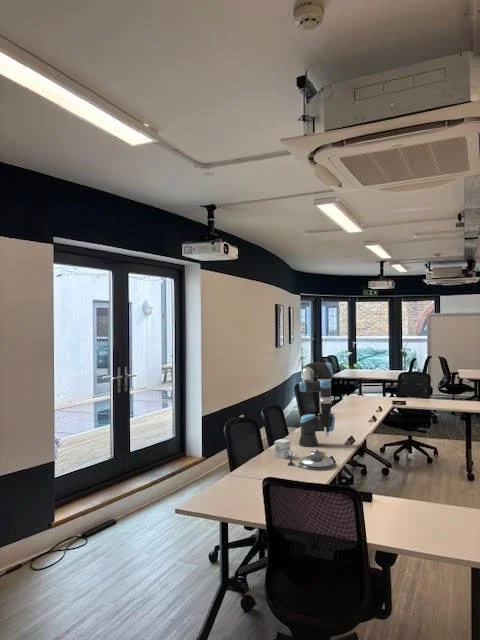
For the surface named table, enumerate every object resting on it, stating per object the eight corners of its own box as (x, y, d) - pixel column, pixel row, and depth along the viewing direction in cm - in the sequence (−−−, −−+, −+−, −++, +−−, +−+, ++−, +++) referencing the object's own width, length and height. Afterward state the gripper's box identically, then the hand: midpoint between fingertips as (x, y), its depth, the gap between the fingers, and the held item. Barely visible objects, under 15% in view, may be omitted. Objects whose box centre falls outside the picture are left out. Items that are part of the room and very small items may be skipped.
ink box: (281, 454, 347) (280, 438, 347) (291, 456, 342) (290, 440, 342) (274, 457, 340) (274, 440, 340) (284, 458, 335) (284, 442, 335)
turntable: (295, 465, 314) (295, 460, 314) (309, 455, 337) (309, 450, 337) (327, 469, 304) (327, 464, 304) (339, 459, 327) (339, 454, 327)
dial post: (288, 463, 323) (288, 449, 323) (298, 464, 321) (297, 449, 321) (287, 465, 319) (287, 450, 319) (297, 466, 317) (297, 451, 317)
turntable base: (301, 459, 333) (301, 457, 333) (336, 460, 327) (336, 459, 327) (296, 469, 310) (296, 467, 310) (333, 471, 304) (333, 469, 304)
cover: (308, 460, 317) (308, 451, 317) (312, 457, 324) (312, 448, 324) (320, 462, 314) (320, 452, 314) (323, 459, 321) (323, 449, 321)
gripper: (315, 402, 333) (316, 435, 333) (328, 404, 323) (329, 439, 323) (323, 400, 338) (323, 433, 338) (336, 403, 327) (337, 437, 327)
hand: (326, 436), depth 330 cm, fingers closed
